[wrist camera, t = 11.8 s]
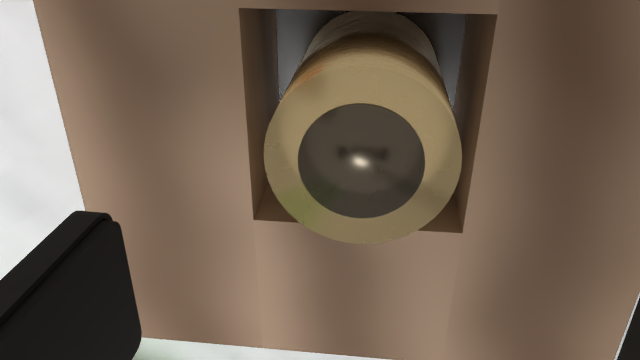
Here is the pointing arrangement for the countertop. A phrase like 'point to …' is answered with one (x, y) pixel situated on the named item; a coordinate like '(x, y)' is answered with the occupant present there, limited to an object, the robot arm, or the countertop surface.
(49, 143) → the countertop surface
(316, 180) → the bushing
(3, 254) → the countertop surface
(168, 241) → the block
